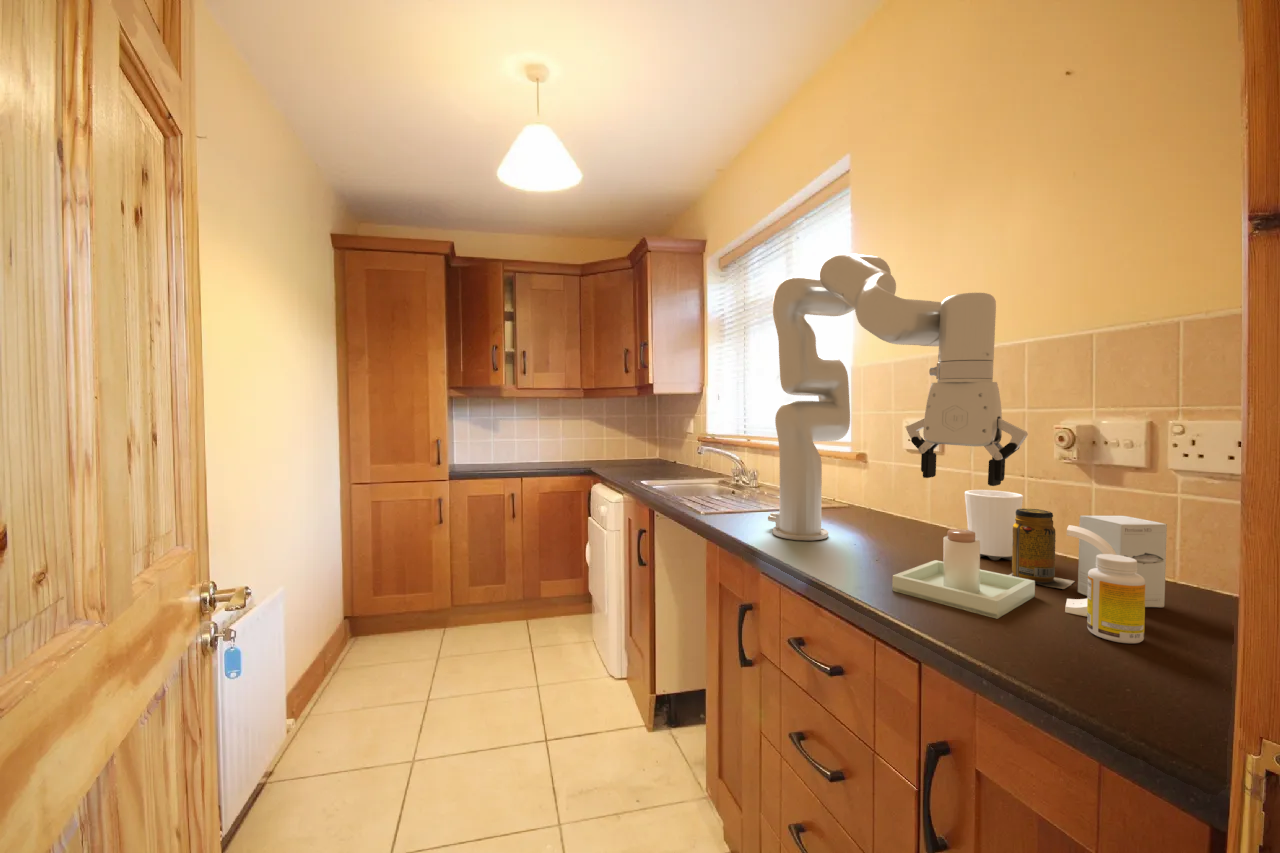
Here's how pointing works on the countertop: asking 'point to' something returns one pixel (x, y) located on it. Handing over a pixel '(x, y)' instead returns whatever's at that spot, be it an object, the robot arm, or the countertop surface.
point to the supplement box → (1128, 551)
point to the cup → (993, 520)
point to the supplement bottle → (1116, 599)
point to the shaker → (961, 560)
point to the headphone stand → (1081, 604)
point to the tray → (991, 600)
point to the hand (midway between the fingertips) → (960, 480)
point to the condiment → (1035, 548)
